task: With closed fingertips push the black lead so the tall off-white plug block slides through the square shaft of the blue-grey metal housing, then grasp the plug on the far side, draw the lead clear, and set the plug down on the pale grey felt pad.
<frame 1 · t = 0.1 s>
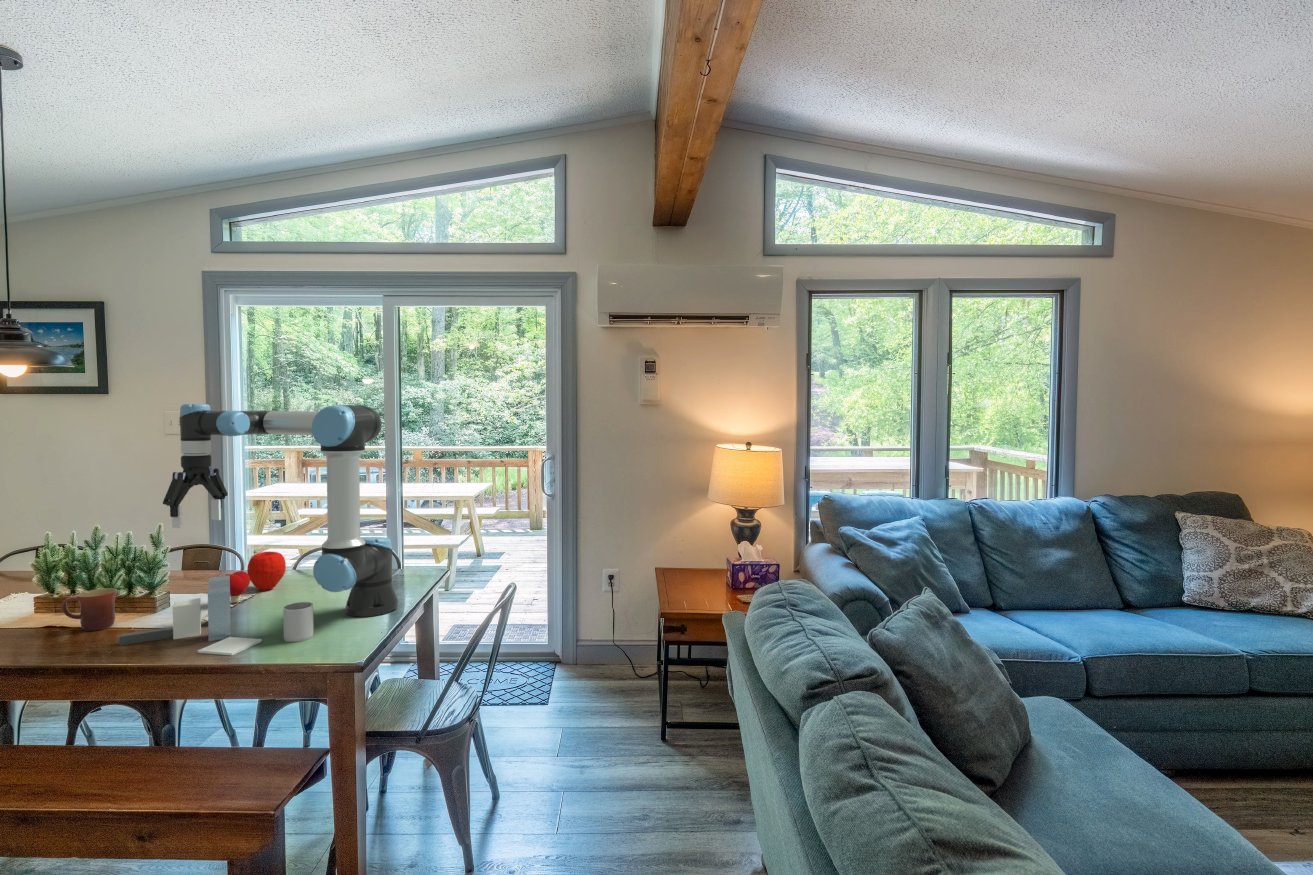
hand: (197, 523, 192), 28 cm above the table, fingers open, 13 cm apart
pad: (230, 646, 167), on the table
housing: (220, 628, 180), on the table
mug: (91, 629, 179), on the table
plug: (187, 633, 176), on the table
cup: (299, 636, 175), on the table
light bulb: (235, 603, 204), on the table
apple: (267, 589, 220), on the table
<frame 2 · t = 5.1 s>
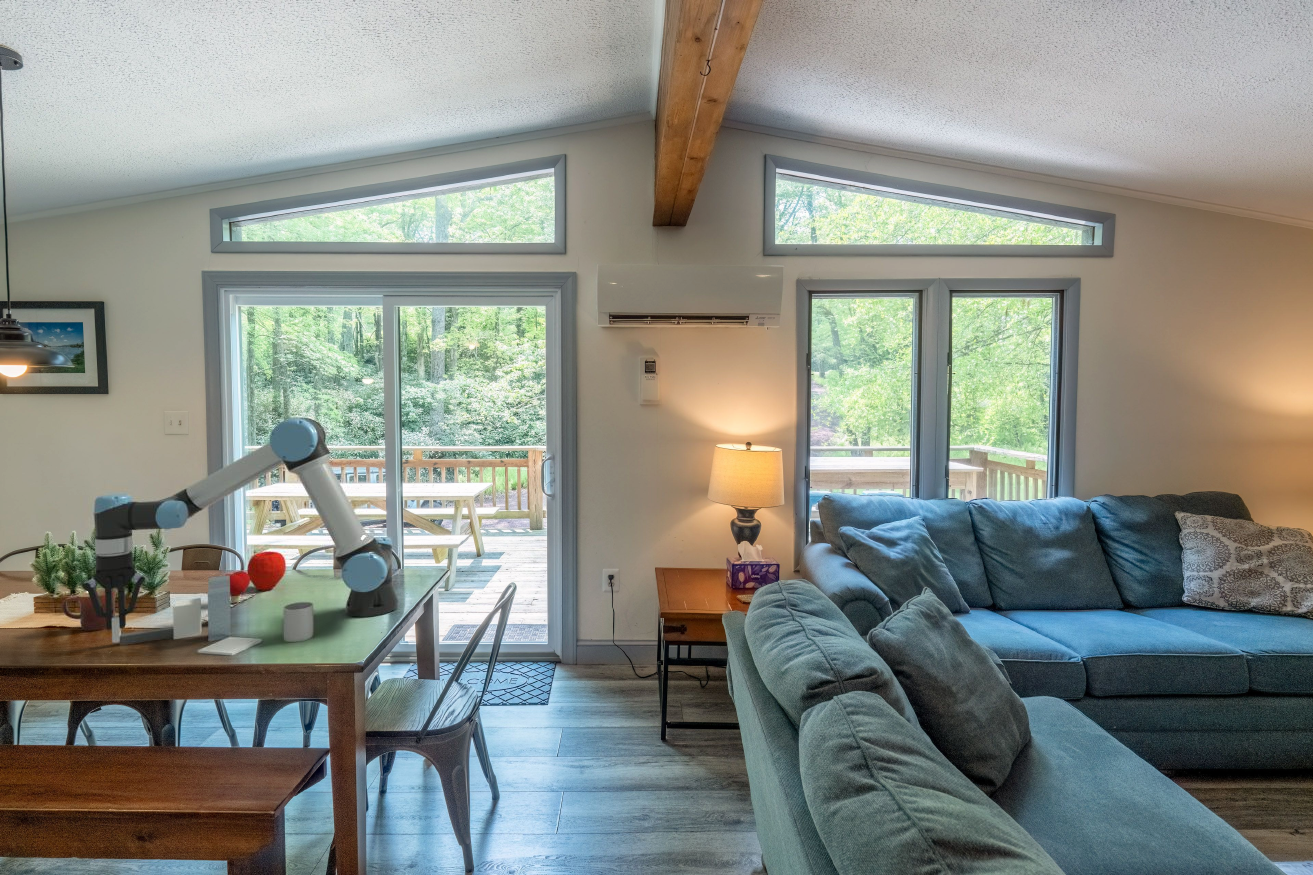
hand: (116, 640, 167), 1 cm above the table, fingers closed
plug: (187, 633, 176), on the table, touching gripper
everything else where it was.
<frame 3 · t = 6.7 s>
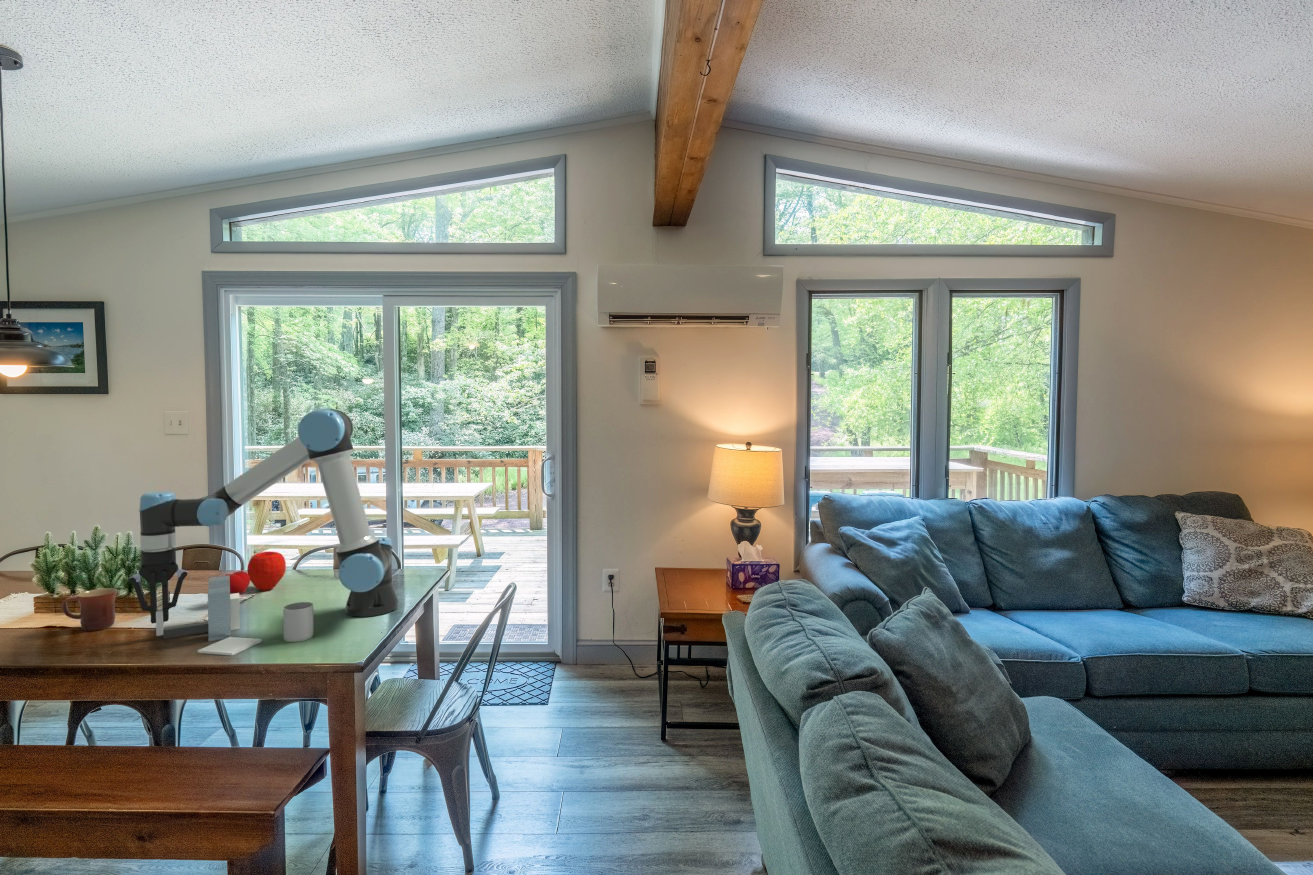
hand: (160, 633, 172), 1 cm above the table, fingers closed
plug: (227, 627, 181), on the table, touching gripper
everything else where it was.
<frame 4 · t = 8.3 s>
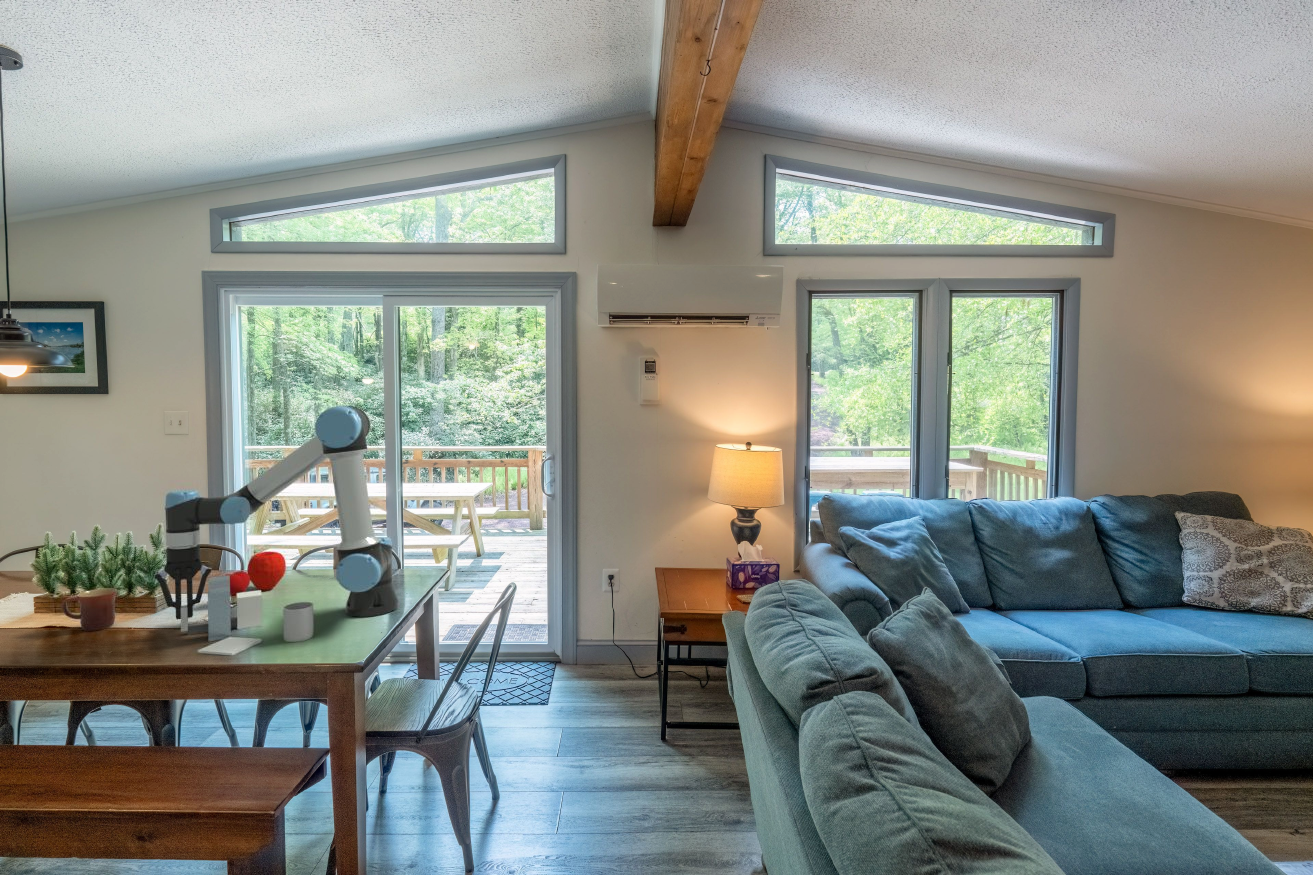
hand: (184, 629, 175), 1 cm above the table, fingers closed
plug: (249, 624, 184), on the table, touching gripper
everything else where it was.
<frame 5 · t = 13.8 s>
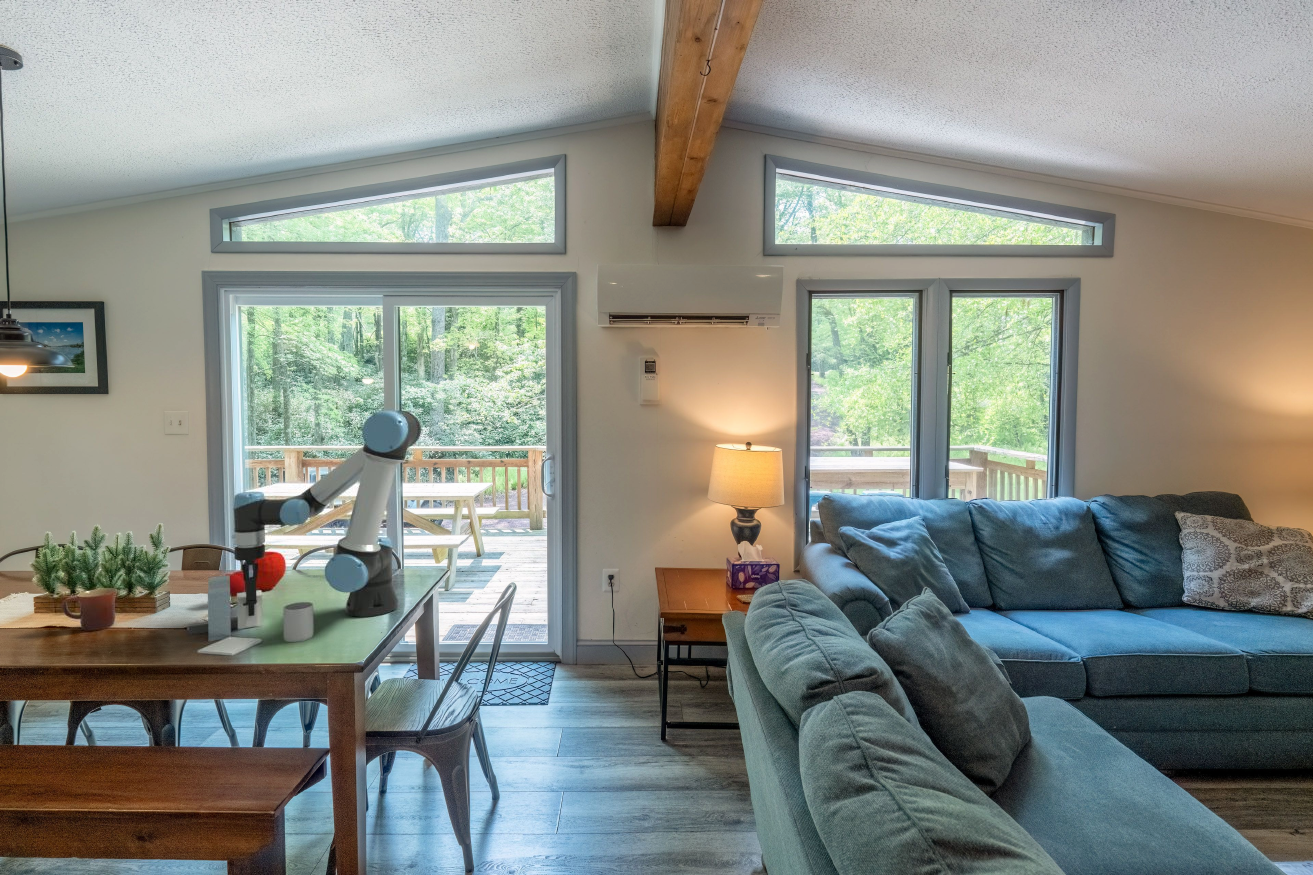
hand: (251, 622, 184), 0 cm above the table, fingers closed on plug, 6 cm apart
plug: (249, 624, 184), on the table, touching gripper
everything else where it was.
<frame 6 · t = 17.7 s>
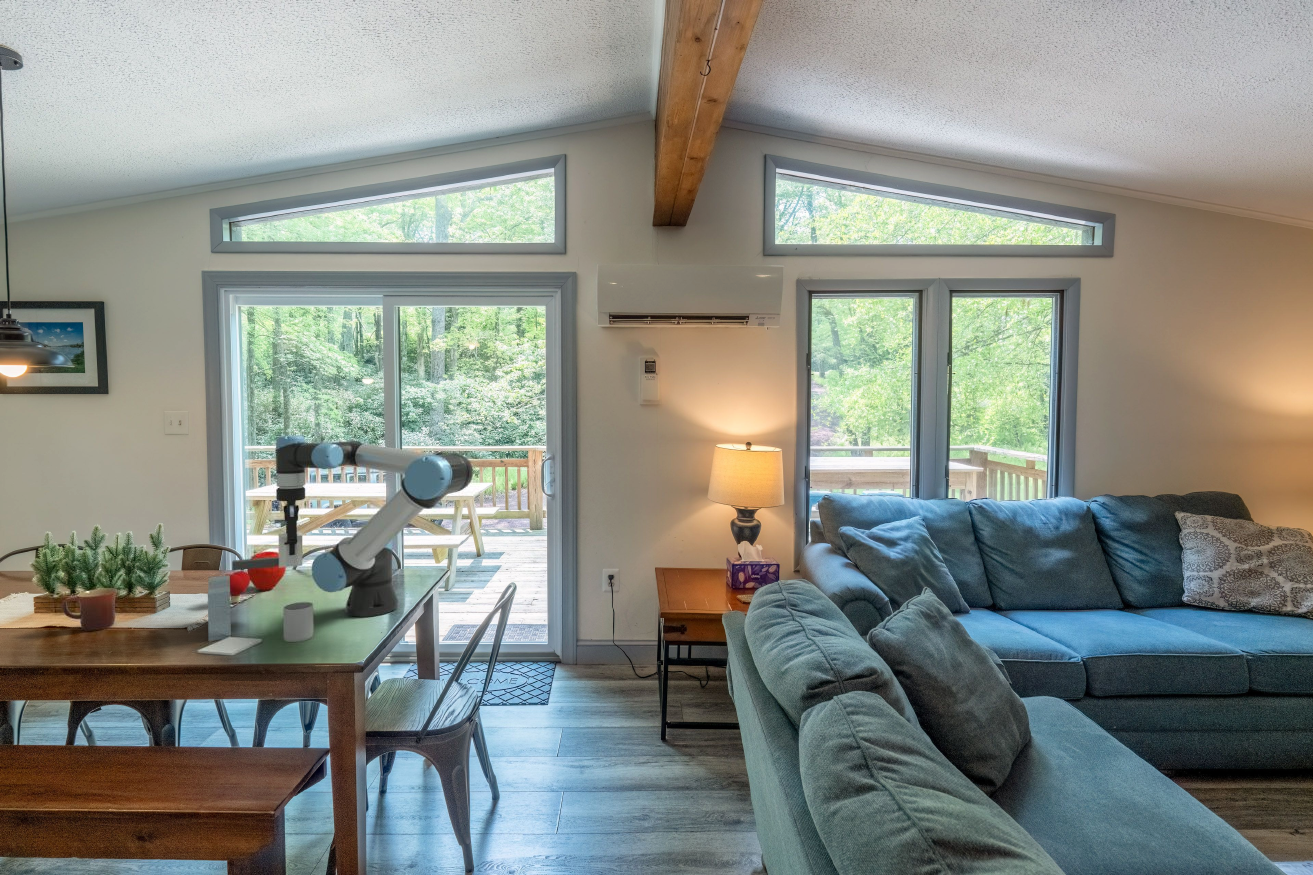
hand: (291, 562, 189), 17 cm above the table, fingers closed on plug, 6 cm apart
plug: (290, 564, 189), point 17 cm above the table, touching gripper
everything else where it was.
when the fingers open (1 cm above the table, at t = 21.9 s): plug stays where it is, resting on pad.
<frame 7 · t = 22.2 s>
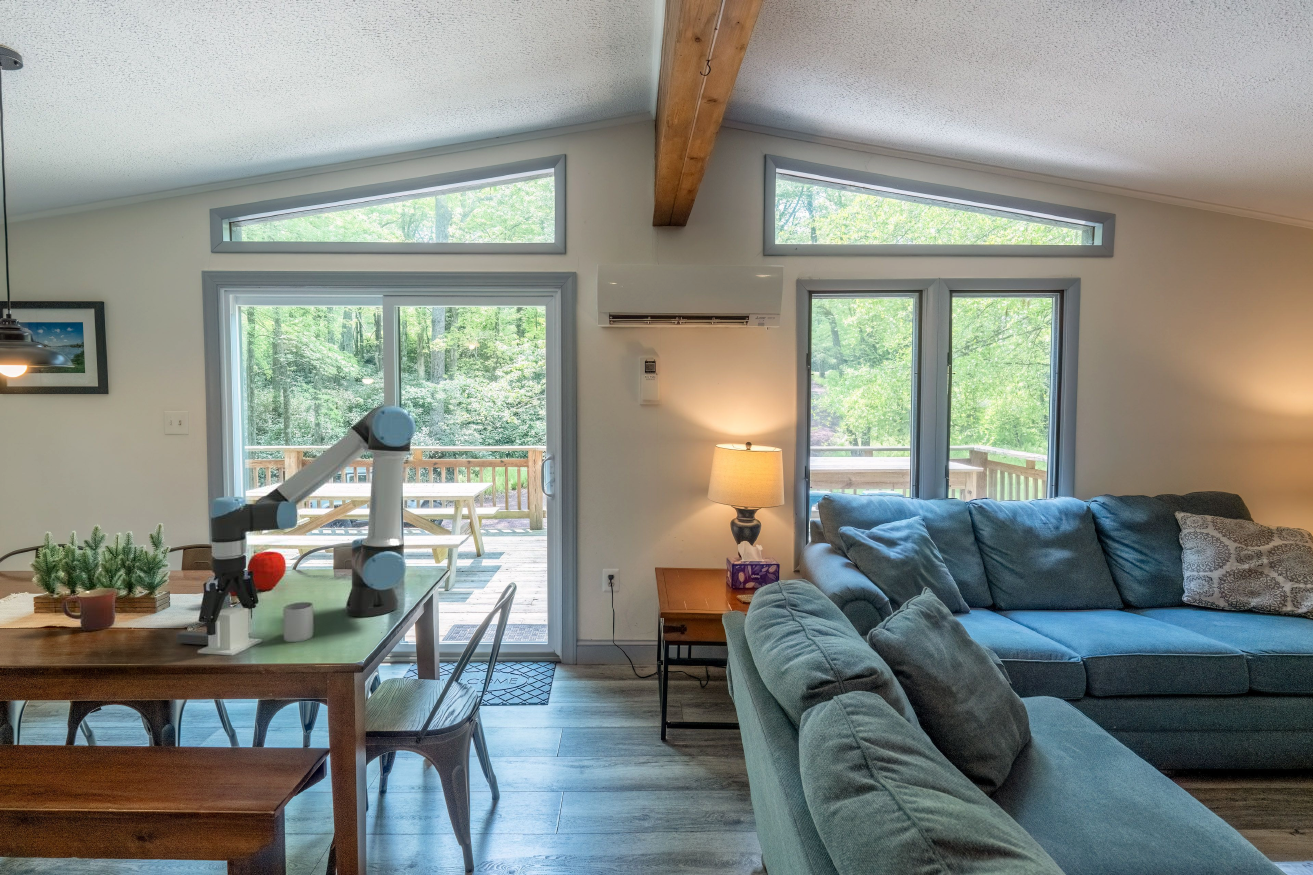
hand: (230, 639, 167), 2 cm above the table, fingers open, 9 cm apart
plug: (229, 644, 167), point 1 cm above the table, touching pad
everything else where it was.
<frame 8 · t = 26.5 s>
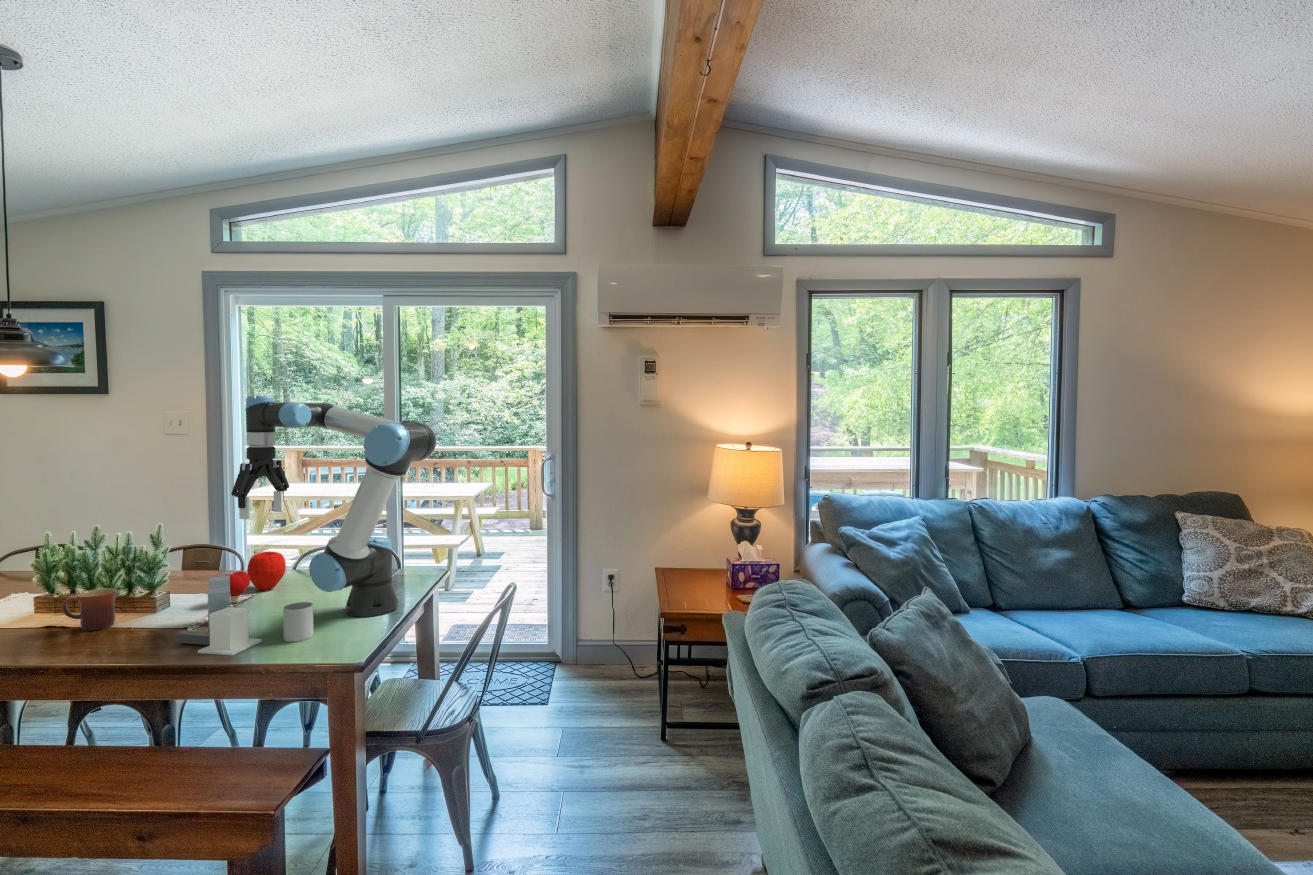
hand: (262, 515, 192), 31 cm above the table, fingers open, 13 cm apart
nothing on the table moved.
at the end: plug inside the target area on the pad (0.4 cm from its centre), point 0.6 cm above the pad's base; the gripper is holding nothing; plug tilted 0° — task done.
